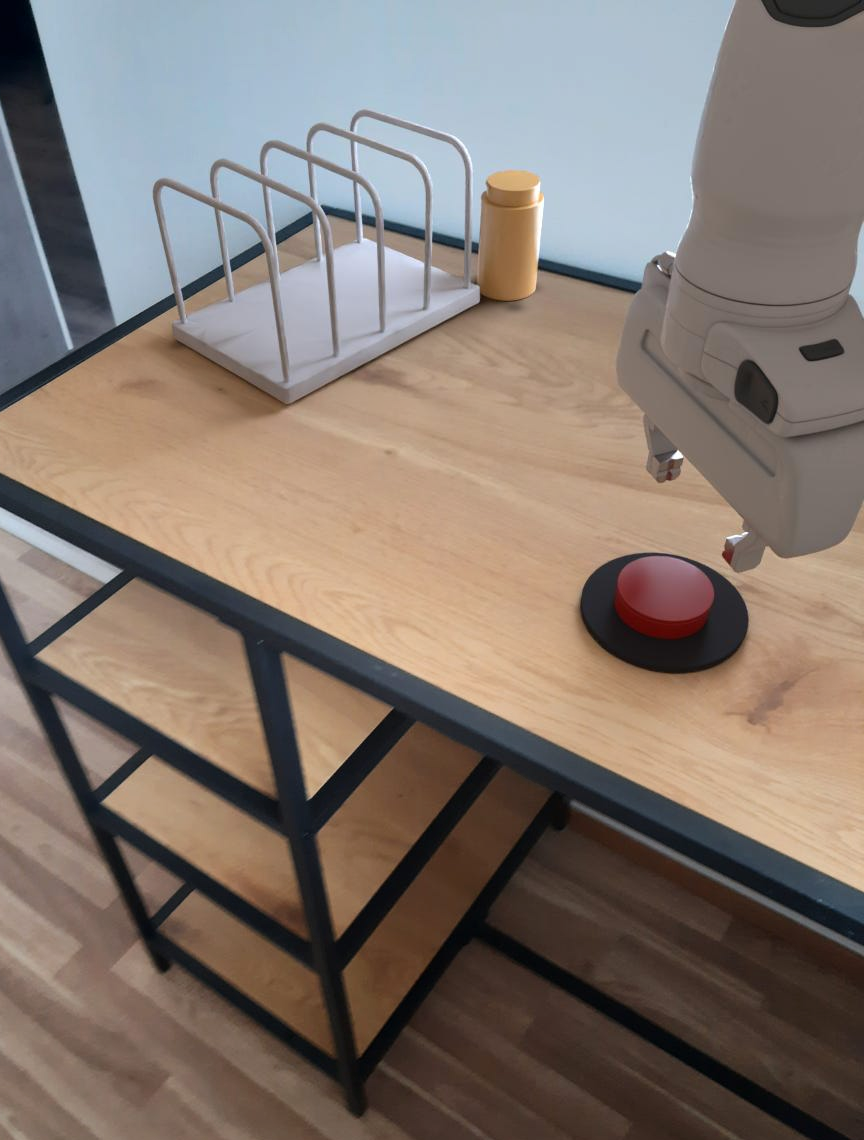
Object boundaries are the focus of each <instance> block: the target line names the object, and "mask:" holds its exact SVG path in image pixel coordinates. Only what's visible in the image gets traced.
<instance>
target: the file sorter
mask: <svg viewBox="0 0 864 1140" xmlns="http://www.w3.org/2000/svg"><path fill="white" fill-rule="evenodd" d="M365 117H366V118H370V119H373V120H377V121H379V122H383V123H386V124H389V125H393V126H395V127H399V128H401V129H405V130H407V131H410V132H414V133H417V134H421V135H424V136H426V137H429V138H432V139H436V140H437V141H438V140H439V141H441V142H444V143H447V144H449V145H452V146H453V148H455V150H457V152H458V153H459V155H460V156H461V159H462V162H463V165H464V172H465V181H464V182H465V183H464V184H465V187H464V188H465V190H464V196H465V197H464V202H465V203H464V250H463V251H464V253H463V254H464V257H463V260H464V261H463V274H464V275H463V276H464V278H461V277H459V276H457V275H454V274H453V273H451V272H450V273H449V272H447V271H445V270H443V269H440V268H439V267H438V268H437V267H435V266H433V265H432V257H433V255H432V254H433V252H432V251H433V228H434V186H433V185H434V184H433V181H432V177H431V175H430V172H429V170H428V168H427V166H426V165H425V163H424V162H423V161H422V159H420V158H419V157H418V156H417V155H416V154H413V153H411V152H409V151H407V150H403V149H401V148H398V147H395V146H392V145H390V144H387V143H384V142H381V141H379V140H376V139H374V138H371V137H367V136H365V135H362V134H359V133H357V131H358V123H359V121H360V120H361V119H362V118H365ZM349 126H350V127H349V129H346V128H343V127H340V126H338V125H334V124H330V123H329V122H324V121H322V122H318V123H315V124H314V125H312V126H311V127H310V129H309V131H308V132H307V136H306V143H305V144H306V150H303V149H301V148H300V147H296V146H294V145H292V144H289V143H287V142H284V141H282V140H278V139H271V140H268V141H266V142H265V143H264V144H263V145H262V147H261V150H260V153H259V166H260V167H259V168H260V172H258V171H255V170H254V169H251V168H249V167H247V166H244V165H242V164H240V163H237V162H235V161H233V160H231V159H228V158H225V157H224V158H223V157H222V158H219V159H217V160H215V161H214V162H213V164H211V167H210V172H209V182H210V183H209V184H210V190H211V195H209V194H206V193H204V192H202V191H199V190H197V189H195V188H194V187H190V186H188V185H186V184H184V183H181V182H179V181H178V180H175V179H173V178H169V177H162V178H159V179H157V180H156V181H155V182H154V183H153V188H152V200H153V201H152V202H153V205H154V210H155V215H156V220H157V225H158V228H159V229H158V230H159V232H160V237H161V241H162V246H163V250H164V255H165V259H166V263H167V264H166V265H167V268H168V272H169V277H170V281H171V285H172V289H173V294H174V298H175V303H176V308H177V312H178V317H179V318H178V319H176V320H173V321H172V322H171V328H172V333H173V338H174V339H175V340H176V341H178V342H180V343H181V344H183V345H185V346H187V347H188V348H190V349H192V350H194V351H195V352H197V353H199V354H200V355H202V356H204V357H205V358H207V359H209V360H211V361H212V362H214V363H215V364H217V365H219V366H220V367H223V368H224V369H225V370H228V371H229V372H231V373H233V374H234V375H236V376H238V377H240V378H242V379H243V380H245V381H247V382H248V383H249V384H252V385H253V386H255V387H257V388H258V389H260V390H262V391H264V392H265V393H267V394H268V395H270V396H272V397H273V398H275V399H276V400H278V401H280V402H282V403H283V404H285V405H290V404H292V403H294V402H296V401H298V400H300V399H301V398H303V397H305V396H307V395H309V394H310V393H313V392H315V391H316V390H318V389H320V388H322V387H323V386H325V385H327V384H328V383H331V382H333V381H334V380H336V379H338V378H340V377H342V376H344V375H345V374H347V373H350V372H352V371H353V370H355V369H357V368H359V367H361V366H363V365H365V364H366V363H368V362H370V361H372V360H374V359H376V358H378V357H379V356H381V355H383V354H385V353H387V352H389V351H390V350H393V349H394V348H397V347H398V346H400V345H402V344H404V343H405V342H407V341H409V340H412V339H413V338H415V337H417V336H418V335H420V334H422V333H424V332H426V331H428V330H430V329H432V328H433V327H436V326H437V325H440V324H441V323H443V322H445V321H447V320H449V319H450V318H453V317H454V316H456V315H458V314H460V313H462V312H463V311H466V310H467V309H469V308H471V307H473V306H475V305H477V304H479V303H480V301H481V300H480V299H481V293H480V287H479V286H478V285H477V284H475V283H473V282H471V281H472V247H473V245H472V243H473V242H472V241H473V200H474V199H473V196H474V195H473V190H474V189H473V188H474V187H473V185H474V176H473V175H474V174H473V173H474V172H473V163H472V159H471V155H470V152H469V150H468V148H467V147H466V146H465V144H464V143H463V142H462V141H461V140H460V139H459V138H457V137H456V136H455V135H452V134H450V133H447V132H444V131H440V130H437V129H435V128H431V127H428V126H425V125H421V124H419V123H416V122H412V121H409V120H407V119H403V118H400V117H396V116H393V115H390V114H386V113H383V112H380V111H377V110H373V109H370V108H363V109H360V110H358V111H357V112H355V113H354V115H353V117H352V118H351V121H350V125H349ZM319 131H322V132H323V131H324V132H327V133H330V134H332V135H334V136H339V137H341V138H343V139H347V140H349V142H350V156H351V169H350V168H347V167H345V166H342V165H340V164H338V163H335V162H333V161H330V160H328V159H325V158H324V157H321V156H318V155H316V154H315V151H314V149H315V148H314V146H315V145H314V143H315V137H316V135H317V133H319ZM358 144H360V145H363V146H366V147H369V148H370V149H374V150H376V151H379V152H382V153H384V154H387V155H389V156H392V157H395V158H398V159H401V160H404V161H406V162H408V163H410V164H411V165H413V167H415V168H416V170H418V173H419V174H420V176H421V178H422V180H423V185H424V190H425V192H424V193H425V224H424V225H425V227H424V260H423V261H424V262H423V261H421V260H419V259H417V258H414V257H411V256H409V255H407V254H404V253H402V252H400V251H397V250H395V249H392V248H390V247H388V246H385V222H384V221H385V220H384V210H383V205H382V201H381V199H380V195H379V194H378V191H377V190H376V188H375V186H374V185H373V183H371V181H370V180H369V179H368V178H367V177H366V176H364V175H362V174H360V169H359V168H360V167H359V153H358V152H359V151H358ZM271 149H276V150H279V151H282V152H284V153H286V154H289V155H292V156H293V157H297V158H299V159H302V160H303V161H306V162H307V171H308V173H307V174H308V181H309V195H308V194H307V193H304V192H302V191H300V190H298V189H295V188H293V187H291V186H289V185H286V184H285V183H282V182H280V181H278V180H276V179H273V178H271V177H269V170H268V169H269V168H268V156H269V152H270V150H271ZM316 166H317V167H320V168H323V169H325V170H327V171H330V172H332V173H334V174H336V175H339V176H341V177H344V178H346V179H349V180H351V181H352V186H353V187H352V188H353V202H354V203H353V204H354V217H355V231H356V238H355V239H353V240H351V241H349V242H347V243H345V244H341V245H340V246H338V247H336V248H334V244H333V236H332V230H331V225H330V223H329V219H328V218H327V215H326V212H325V211H324V210H323V208H322V207H321V205H320V204H319V200H318V189H317V188H318V187H317V178H316V177H317V176H316ZM221 168H225V169H227V170H230V171H233V172H235V173H237V174H239V175H242V176H244V177H246V178H248V179H250V180H252V181H255V182H257V183H259V184H261V186H262V193H263V203H264V211H265V218H266V227H267V231H266V229H265V228H264V226H263V225H262V224H261V223H260V221H259V220H257V219H256V217H254V216H253V215H251V214H250V213H248V212H246V211H244V210H242V209H240V208H237V207H235V206H233V205H231V204H229V203H226V202H224V201H222V200H221V195H220V188H219V180H218V177H219V172H220V169H221ZM360 186H361V187H362V188H363V189H364V190H365V191H366V193H367V194H368V195H369V198H370V199H371V201H372V205H373V209H374V214H375V234H376V235H375V237H376V242H375V241H373V240H371V239H369V238H366V237H364V233H363V217H362V216H363V215H362V202H361V187H360ZM164 187H167V188H170V189H172V190H174V191H176V192H178V193H180V194H183V195H185V196H187V197H190V198H192V199H194V200H197V201H199V202H201V203H203V204H205V205H207V206H209V207H212V208H213V210H214V216H215V222H216V228H217V233H218V234H217V235H218V239H219V240H218V242H219V246H220V247H219V248H220V252H221V253H220V254H221V260H222V266H223V272H224V280H225V285H226V291H227V297H226V298H223V299H221V300H218V301H216V302H213V303H212V304H209V305H207V306H205V307H203V308H201V309H199V310H196V311H194V312H191V313H189V314H187V315H186V306H185V302H184V297H183V293H182V289H181V284H180V279H179V276H178V270H177V266H176V262H175V257H174V253H173V250H172V244H171V239H170V235H169V230H168V226H167V222H166V217H165V212H164V206H163V201H162V200H163V199H162V190H163V188H164ZM271 189H272V190H274V191H276V192H279V193H281V194H282V195H286V196H287V197H289V198H292V199H294V200H296V201H298V202H300V203H303V204H305V205H306V206H307V207H309V208H310V209H311V215H312V226H313V235H314V246H315V257H314V258H312V259H309V260H307V261H305V262H302V263H300V264H298V265H296V266H294V267H292V268H289V269H287V270H285V271H283V272H281V273H280V264H279V257H278V248H277V240H276V230H275V222H274V216H273V215H274V213H273V207H272V197H271ZM223 213H225V214H227V215H229V216H231V217H234V218H235V219H238V220H240V221H242V222H243V223H246V224H248V225H249V226H250V227H251V228H252V229H253V230H254V231H255V233H256V234H257V236H258V238H259V239H260V241H261V243H262V246H263V249H264V253H265V257H266V263H267V270H268V276H269V277H268V278H267V279H265V280H263V281H261V282H258V283H256V284H254V285H252V286H249V287H248V288H245V289H243V290H241V291H238V292H235V288H234V287H235V286H234V282H233V276H232V274H233V273H232V268H231V263H230V262H231V261H230V257H229V249H228V244H227V237H226V231H225V222H224V216H223ZM321 230H322V233H323V234H322V233H321ZM322 235H323V241H324V251H325V253H323V247H322V244H323V243H322Z"/></svg>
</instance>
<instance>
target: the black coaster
mask: <svg viewBox="0 0 864 1140" xmlns="http://www.w3.org/2000/svg"><path fill="white" fill-rule="evenodd" d="M650 556H666V557H672V558H676V559H680V560H683V561H685V562H688V563H690V564H692V565H694V566H695V567H697V568H698V569H700V570H701V571H702V572H703V573H704V574H705V575H706V576H707V577H708V578H709V580H710V581H711V583H712V585H713V588H714V600H713V603H712V607H711V610H710V613H709V616H708V619H707V621H706V623H705V625H704V626H703V627H702V628H701V629H700V630H699V631H697V632H695V633H694V634H692V635H689V636H686V637H683V638H677V639H661V638H655V637H651V636H647V635H645V634H642V633H640V632H638V631H636V630H634V629H632V628H631V627H629V626H628V625H627V624H626V623H625V622H624V621H623V620H622V619H621V618H620V617H619V615H618V613H617V612H616V609H615V606H614V595H615V591H616V586H617V581H618V577H619V574H620V573H621V571H622V570H623V569H624V567H625V566H627V565H628V564H629V563H631V562H633V561H635V560H637V559H640V558H644V557H650ZM579 601H580V603H579V610H580V616H581V619H582V622H583V625H584V626H585V628H586V630H587V632H588V633H589V634H590V636H591V637H592V638H593V640H595V642H596V643H597V644H598V645H599V646H600V647H602V648H603V649H604V650H605V651H607V652H608V653H609V654H611V655H612V656H614V657H615V658H617V659H619V660H621V661H623V662H625V663H627V664H630V665H632V666H635V667H637V668H640V669H643V670H646V671H652V672H657V673H663V674H690V673H691V674H692V673H697V672H703V671H705V670H709V669H712V668H714V667H716V666H719V665H721V664H723V663H725V662H726V661H727V660H729V659H730V658H731V657H733V656H734V655H735V654H736V653H737V652H738V651H739V649H740V648H741V646H742V645H743V643H744V641H745V639H746V636H747V633H748V630H749V621H750V618H749V610H748V608H747V604H746V602H745V600H744V598H743V596H742V595H741V593H740V591H739V590H738V589H737V588H736V587H735V585H734V584H733V583H731V581H730V580H729V579H727V578H726V577H725V576H724V575H723V574H721V573H719V572H718V571H716V569H713V568H711V567H709V566H708V565H706V564H704V563H701V562H700V561H698V560H694V559H691V558H688V557H685V556H681V555H678V554H671V553H666V552H665V553H664V552H635V553H631V554H625V555H622V556H619V557H616V558H614V559H611V560H608V561H607V562H606V563H604V564H601V565H600V566H599V567H597V569H595V570H594V571H593V572H592V573H591V574H590V575H589V577H588V578H587V580H586V581H585V582H584V585H583V588H582V590H581V594H580V600H579Z"/></svg>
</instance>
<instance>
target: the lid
mask: <svg viewBox="0 0 864 1140" xmlns="http://www.w3.org/2000/svg"><path fill="white" fill-rule="evenodd" d="M713 600H714V588H713V585H712V583H711V581H710V580H709V578H708V577H707V576H706V575H705V574H704V573H703V572H702V571H701V570H700V569H698V568H697V567H695V566H694V565H692V564H690V563H688V562H685V561H683V560H680V559H676V558H672V557H666V556H650V557H644V558H640V559H637V560H635V561H633V562H631V563H629V564H628V565H627V566H625V567H624V569H623V570H622V571H621V573H620V574H619V577H618V581H617V586H616V591H615V595H614V606H615V609H616V612H617V613H618V615H619V617H620V618H621V619H622V620H623V621H624V622H625V623H626V624H627V625H628V626H629V627H631V628H632V629H634V630H636V631H638V632H640V633H642V634H645V635H647V636H651V637H655V638H661V639H677V638H683V637H686V636H689V635H692V634H694V633H695V632H697V631H699V630H700V629H701V628H702V627H703V626H704V625H705V623H706V621H707V619H708V616H709V613H710V610H711V607H712V603H713Z"/></svg>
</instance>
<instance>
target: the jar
mask: <svg viewBox="0 0 864 1140" xmlns="http://www.w3.org/2000/svg"><path fill="white" fill-rule="evenodd" d="M485 187H486V189H485V190H484V191H483V192H482V193H481V195H480V207H479V209H480V210H479V229H478V231H479V232H478V252H477V273H476V275H477V278H476V285H478V286H479V287H480V295H482V296H484V297H486V298H488V299H492V300H497V301H502V302H504V301H505V302H508V301H509V302H511V301H512V302H513V301H519V300H522V299H526V298H528V297H530V296H532V295H533V293H535V291H536V289H537V282H538V281H537V279H538V270H539V269H538V267H539V258H540V247H541V238H542V237H541V235H542V227H543V215H544V203H545V196H544V194H543V192H542V191H541V189H540V188H541V178H540V177H539V176H538V175H537V174H535V173H533V172H530V171H525V170H519V169H518V170H517V169H510V170H509V169H507V170H501V171H496V172H493V173H492V174H490V175H489V176H488V177H487V179H486V180H485Z"/></svg>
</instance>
